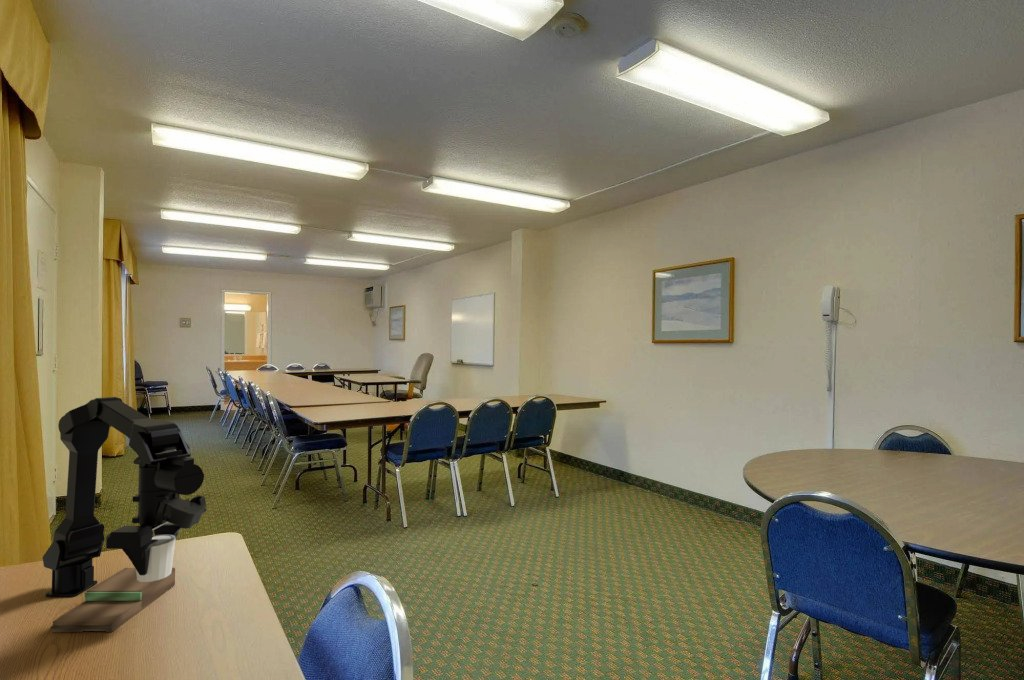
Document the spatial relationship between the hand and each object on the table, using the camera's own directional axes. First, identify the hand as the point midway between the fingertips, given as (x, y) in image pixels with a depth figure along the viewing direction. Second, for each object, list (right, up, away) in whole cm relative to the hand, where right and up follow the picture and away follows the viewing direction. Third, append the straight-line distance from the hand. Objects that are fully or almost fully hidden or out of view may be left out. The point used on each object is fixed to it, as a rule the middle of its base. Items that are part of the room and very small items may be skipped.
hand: (154, 567), depth 102 cm
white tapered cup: (0, -2, 0) cm, 2 cm away
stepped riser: (-11, -10, +5) cm, 16 cm away
